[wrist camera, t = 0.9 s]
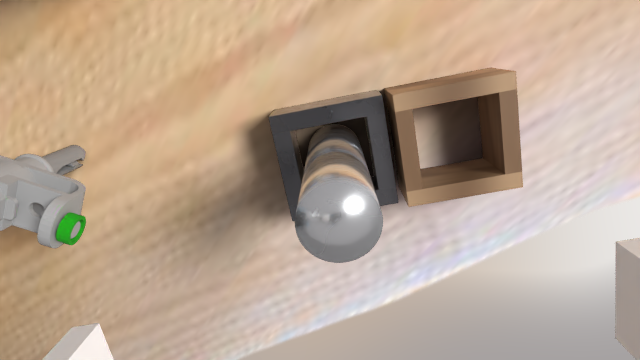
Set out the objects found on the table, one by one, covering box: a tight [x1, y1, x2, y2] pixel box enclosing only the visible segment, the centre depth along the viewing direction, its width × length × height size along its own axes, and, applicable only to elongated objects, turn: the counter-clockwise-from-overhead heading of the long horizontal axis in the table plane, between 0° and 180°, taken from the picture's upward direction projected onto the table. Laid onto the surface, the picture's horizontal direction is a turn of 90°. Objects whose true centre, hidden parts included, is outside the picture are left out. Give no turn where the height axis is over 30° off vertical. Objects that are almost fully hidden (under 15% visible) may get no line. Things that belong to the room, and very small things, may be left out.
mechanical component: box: [0, 145, 86, 248], centre depth 26 cm, size 3×10×10 cm, turn 70°
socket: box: [269, 90, 398, 221], centre depth 29 cm, size 7×7×3 cm
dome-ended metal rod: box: [295, 124, 383, 263], centre depth 24 cm, size 4×4×13 cm
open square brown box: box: [384, 68, 523, 207], centre depth 28 cm, size 7×7×4 cm
